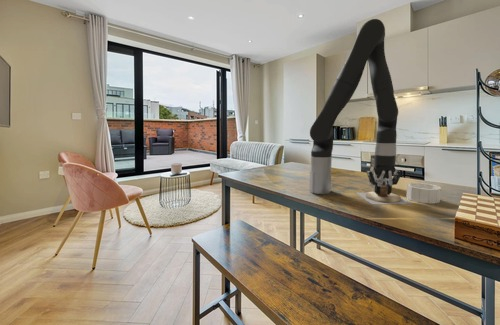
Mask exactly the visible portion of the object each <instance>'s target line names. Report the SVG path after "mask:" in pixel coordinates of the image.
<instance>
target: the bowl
mask: <svg viewBox="0 0 500 325" xmlns="http://www.w3.org/2000/svg"><path fill="white" fill-rule="evenodd" d="M441 193H442V188H441V186H439V185H436V184H430V183H425V182H424V183H421V182H410V183H409V182H408V183H407V184H406V194H405V195H406V196H405V197H406V200H408V201H409V200H410V201H412V202H416V203H422V204H438V203H440V202H441V195H442V194H441Z"/></svg>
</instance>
